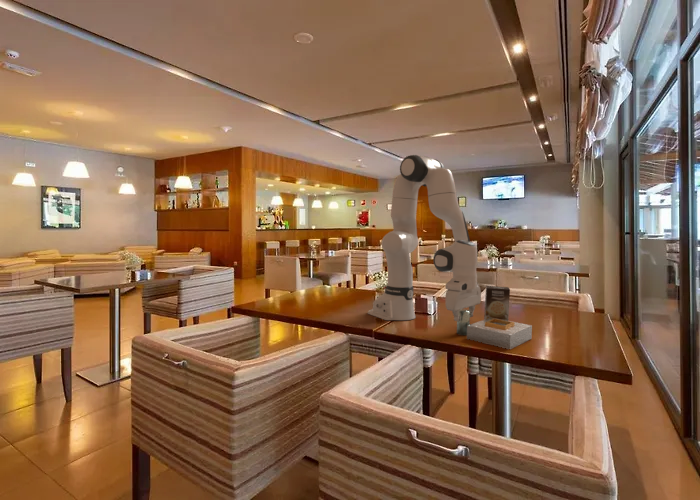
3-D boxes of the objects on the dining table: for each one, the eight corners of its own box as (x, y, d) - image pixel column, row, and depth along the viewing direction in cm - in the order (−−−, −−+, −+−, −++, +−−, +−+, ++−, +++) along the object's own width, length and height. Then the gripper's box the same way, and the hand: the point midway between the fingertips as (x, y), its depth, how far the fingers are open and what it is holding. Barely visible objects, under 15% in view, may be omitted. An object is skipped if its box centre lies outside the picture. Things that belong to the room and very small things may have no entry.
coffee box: (484, 326, 158) (485, 287, 157) (483, 322, 164) (485, 285, 163) (508, 328, 155) (510, 289, 154) (506, 324, 161) (508, 286, 160)
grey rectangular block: (466, 338, 141) (467, 322, 140) (490, 329, 153) (490, 314, 153) (509, 349, 129) (510, 331, 129) (531, 338, 141) (532, 322, 141)
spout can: (449, 332, 149) (450, 309, 148) (456, 330, 152) (456, 307, 152) (465, 336, 144) (465, 312, 144) (471, 333, 147) (472, 310, 147)
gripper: (471, 279, 155) (470, 313, 156) (442, 284, 141) (441, 321, 142) (485, 281, 151) (484, 315, 152) (458, 287, 137) (457, 325, 138)
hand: (463, 318), depth 147 cm, fingers open, 8 cm apart
